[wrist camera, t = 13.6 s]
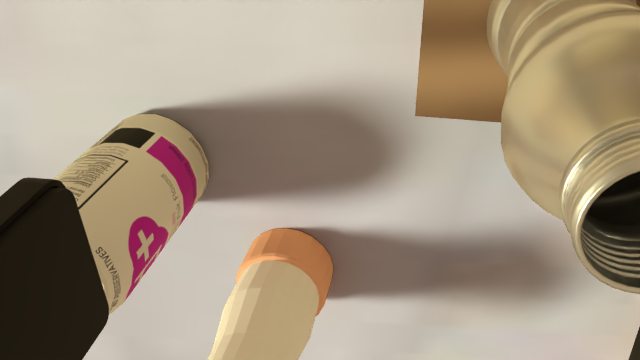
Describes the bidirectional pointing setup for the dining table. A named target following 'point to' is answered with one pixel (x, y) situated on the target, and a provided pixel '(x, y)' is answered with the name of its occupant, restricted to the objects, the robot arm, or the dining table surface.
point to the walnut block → (459, 63)
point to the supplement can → (135, 196)
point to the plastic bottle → (576, 121)
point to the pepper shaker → (274, 298)
